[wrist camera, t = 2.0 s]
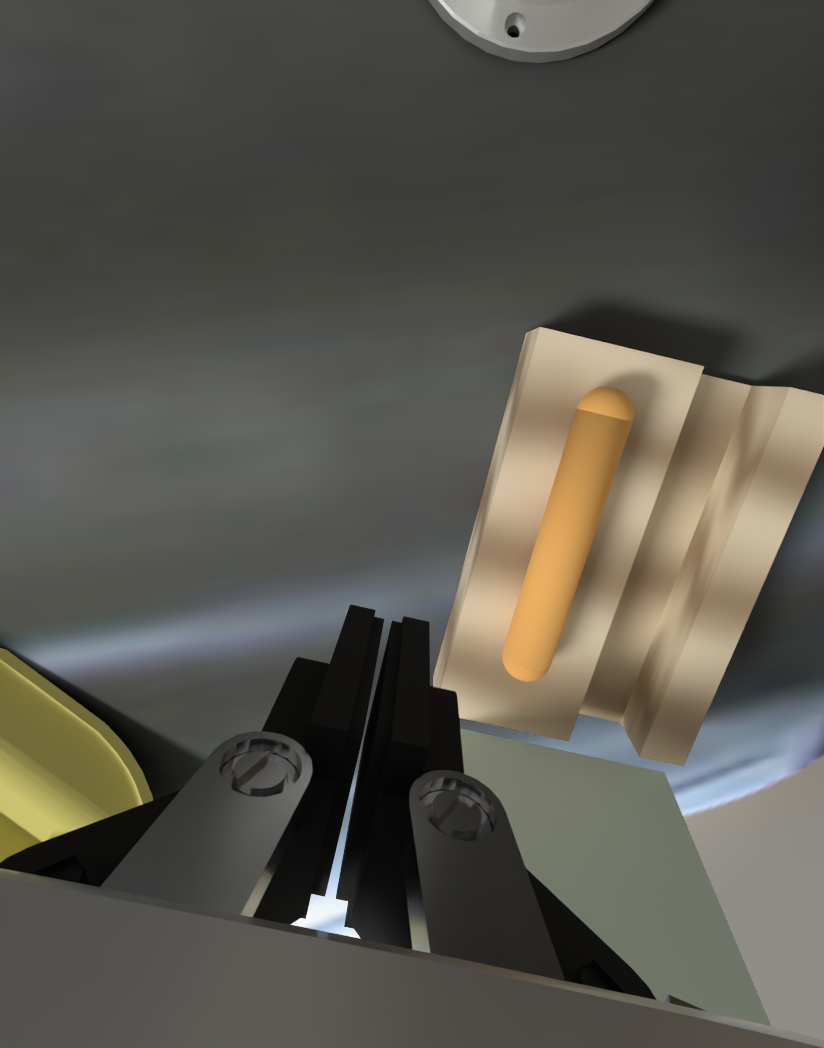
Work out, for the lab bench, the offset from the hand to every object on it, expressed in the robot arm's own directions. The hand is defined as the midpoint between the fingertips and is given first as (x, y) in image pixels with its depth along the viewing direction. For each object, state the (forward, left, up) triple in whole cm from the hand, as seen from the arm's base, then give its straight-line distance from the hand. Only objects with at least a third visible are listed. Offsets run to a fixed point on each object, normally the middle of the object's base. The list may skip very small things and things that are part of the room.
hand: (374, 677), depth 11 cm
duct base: (+1, +11, -19) cm, 22 cm away
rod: (0, +8, -15) cm, 17 cm away
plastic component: (+24, -18, -19) cm, 36 cm away
